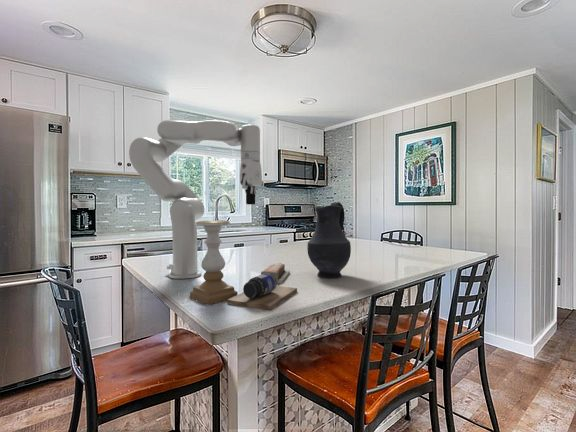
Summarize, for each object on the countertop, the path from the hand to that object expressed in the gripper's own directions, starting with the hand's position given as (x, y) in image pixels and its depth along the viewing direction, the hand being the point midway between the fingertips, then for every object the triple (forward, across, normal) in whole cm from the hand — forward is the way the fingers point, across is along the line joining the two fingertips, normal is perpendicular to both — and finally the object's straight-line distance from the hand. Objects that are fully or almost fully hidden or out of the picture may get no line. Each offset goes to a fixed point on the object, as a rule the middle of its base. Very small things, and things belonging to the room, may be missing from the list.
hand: (250, 204), depth 126 cm
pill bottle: (+25, -19, -18) cm, 36 cm away
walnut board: (+29, -22, -18) cm, 40 cm away
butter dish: (+30, +4, -8) cm, 31 cm away
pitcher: (+29, +17, -28) cm, 44 cm away
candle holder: (+29, -28, -3) cm, 41 cm away
